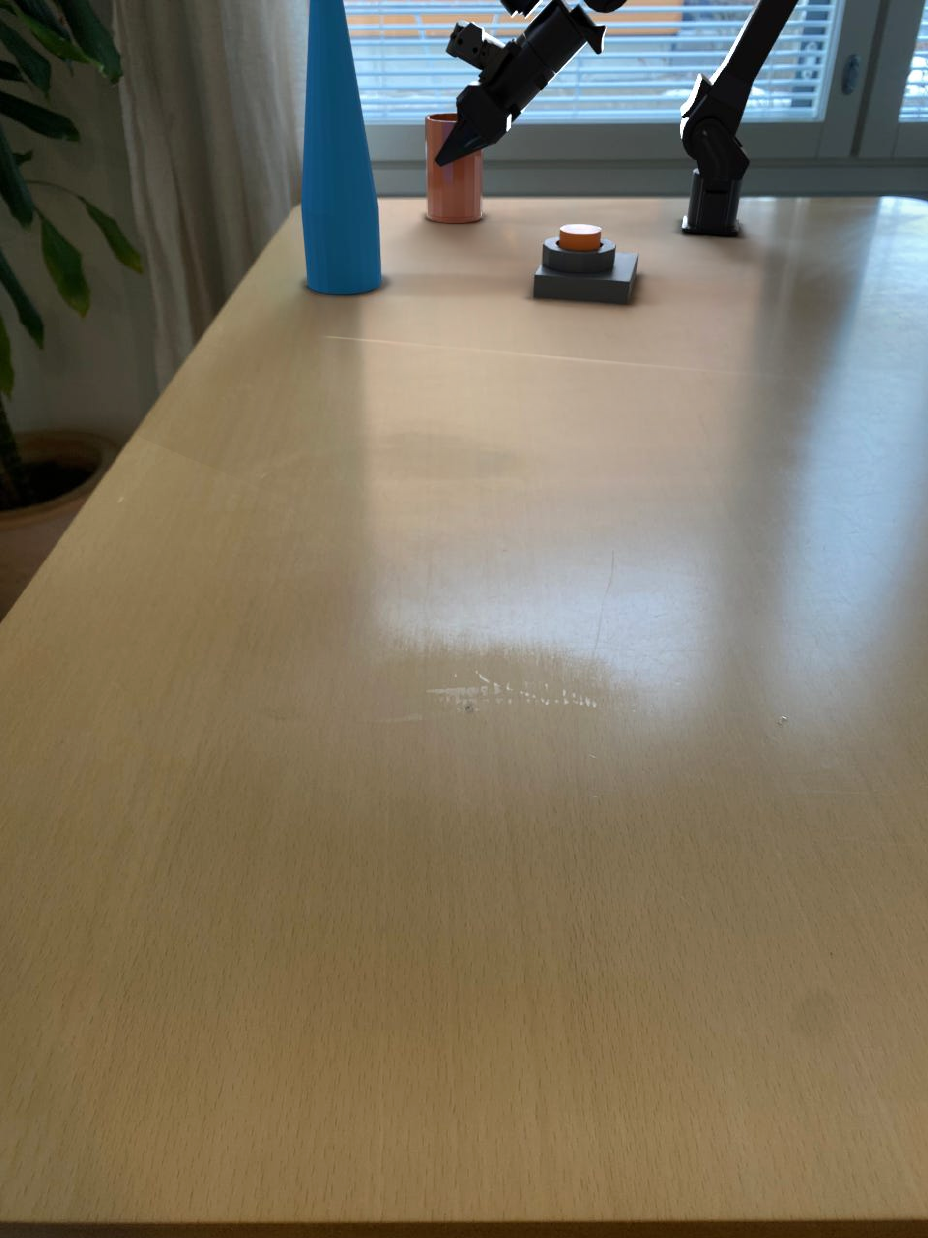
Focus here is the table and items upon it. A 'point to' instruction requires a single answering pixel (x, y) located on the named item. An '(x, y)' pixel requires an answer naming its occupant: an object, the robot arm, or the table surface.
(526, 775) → the table surface
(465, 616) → the table surface
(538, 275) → the button base
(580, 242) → the orange push button
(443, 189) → the cup
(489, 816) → the table surface
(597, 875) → the table surface
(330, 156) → the bottle
